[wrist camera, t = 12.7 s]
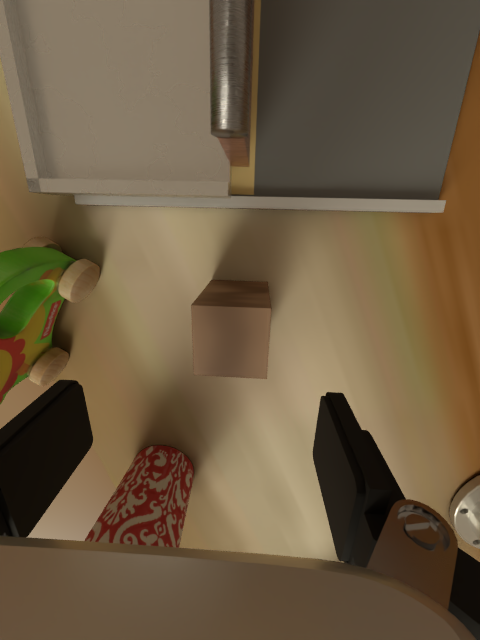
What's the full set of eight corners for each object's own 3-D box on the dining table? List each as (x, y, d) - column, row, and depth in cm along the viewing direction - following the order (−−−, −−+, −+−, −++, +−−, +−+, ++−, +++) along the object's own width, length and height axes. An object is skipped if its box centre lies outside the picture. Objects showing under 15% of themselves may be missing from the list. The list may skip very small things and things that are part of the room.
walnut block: (267, 281, 25) (271, 308, 17) (264, 333, 26) (266, 378, 19) (211, 279, 25) (191, 305, 17) (212, 331, 26) (193, 374, 19)
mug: (113, 444, 32) (19, 590, 19) (186, 431, 31) (135, 578, 18) (153, 519, 36) (96, 682, 23) (219, 510, 35) (196, 677, 22)
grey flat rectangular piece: (531, -210, 15) (562, -259, 13) (430, 212, 22) (443, 212, 20) (28, -183, 16) (5, -224, 15) (87, 205, 23) (75, 203, 22)
